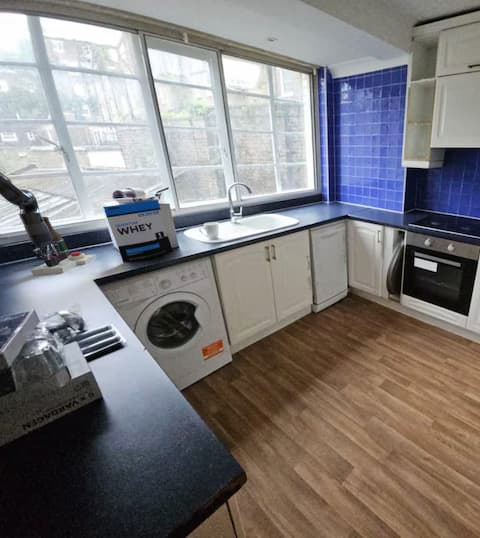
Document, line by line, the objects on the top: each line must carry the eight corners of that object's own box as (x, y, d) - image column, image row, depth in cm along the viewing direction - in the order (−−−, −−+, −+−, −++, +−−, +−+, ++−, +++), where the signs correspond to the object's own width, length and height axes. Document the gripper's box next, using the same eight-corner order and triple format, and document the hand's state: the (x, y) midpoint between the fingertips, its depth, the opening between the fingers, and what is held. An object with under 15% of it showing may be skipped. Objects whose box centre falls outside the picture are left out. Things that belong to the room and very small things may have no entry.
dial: (45, 267, 146) (41, 258, 144) (51, 263, 150) (47, 256, 148) (55, 266, 147) (51, 258, 145) (61, 263, 151) (58, 255, 149)
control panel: (33, 275, 144) (30, 269, 143) (48, 268, 153) (45, 262, 152) (63, 272, 146) (61, 267, 145) (77, 265, 155) (74, 260, 154)
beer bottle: (71, 255, 170) (53, 215, 161) (70, 259, 165) (52, 217, 155) (53, 259, 166) (33, 217, 156) (51, 262, 160) (31, 219, 151)
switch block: (59, 266, 155) (56, 259, 153) (72, 260, 164) (69, 253, 162) (86, 264, 157) (83, 257, 155) (97, 257, 166) (94, 251, 164)
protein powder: (120, 261, 160) (100, 206, 148) (169, 249, 177) (154, 199, 166) (126, 264, 154) (105, 208, 143) (175, 252, 172) (161, 200, 160)
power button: (70, 257, 157) (69, 254, 156) (74, 255, 160) (73, 252, 159) (78, 256, 158) (76, 253, 157) (82, 254, 161) (81, 251, 160)
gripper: (40, 229, 147) (55, 260, 154) (17, 237, 134) (34, 271, 141) (57, 227, 149) (72, 258, 156) (36, 235, 136) (53, 269, 143)
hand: (54, 264), depth 148 cm, fingers closed on dial, 4 cm apart
